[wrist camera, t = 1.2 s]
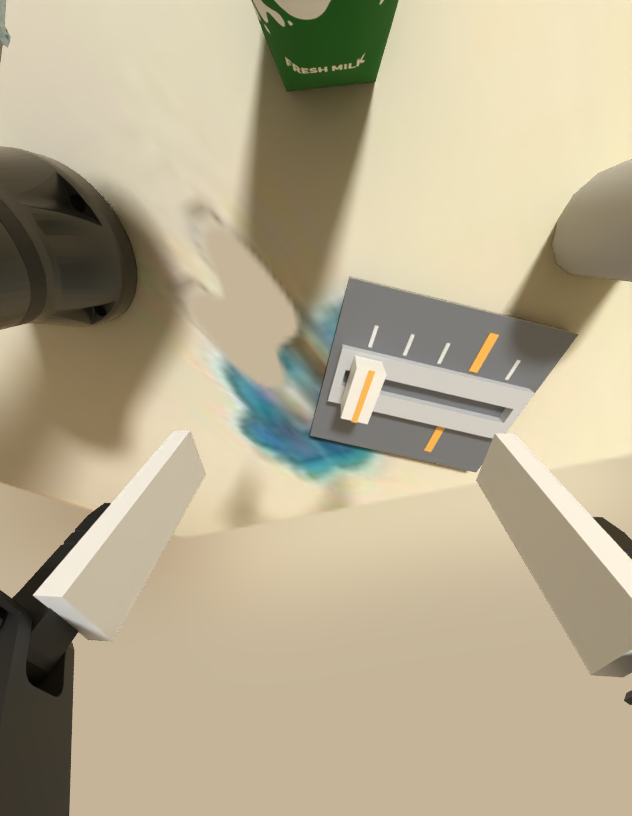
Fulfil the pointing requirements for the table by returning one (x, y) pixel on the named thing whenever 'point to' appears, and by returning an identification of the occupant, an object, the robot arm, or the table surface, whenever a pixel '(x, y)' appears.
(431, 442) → the console
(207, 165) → the table surface
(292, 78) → the milk carton
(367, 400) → the fader
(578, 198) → the cup
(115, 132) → the table surface
